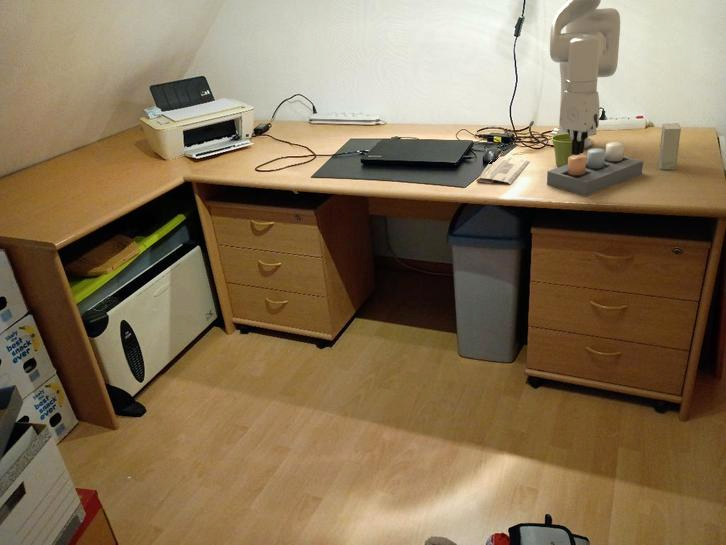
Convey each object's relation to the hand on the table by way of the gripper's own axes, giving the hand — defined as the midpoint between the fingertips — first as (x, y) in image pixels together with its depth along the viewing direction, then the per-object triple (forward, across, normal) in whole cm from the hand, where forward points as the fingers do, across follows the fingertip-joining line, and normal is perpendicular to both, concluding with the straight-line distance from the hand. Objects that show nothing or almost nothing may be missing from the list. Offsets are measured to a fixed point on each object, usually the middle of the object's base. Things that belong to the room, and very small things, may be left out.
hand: (577, 153), depth 170 cm
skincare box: (+10, +8, +30) cm, 33 cm away
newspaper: (+11, -25, -5) cm, 28 cm away
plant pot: (+10, -15, +13) cm, 22 cm away
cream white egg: (+5, 0, +16) cm, 17 cm away
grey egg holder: (+10, 0, +8) cm, 13 cm away
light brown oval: (+6, 0, 0) cm, 6 cm away
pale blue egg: (+6, 0, +8) cm, 10 cm away
